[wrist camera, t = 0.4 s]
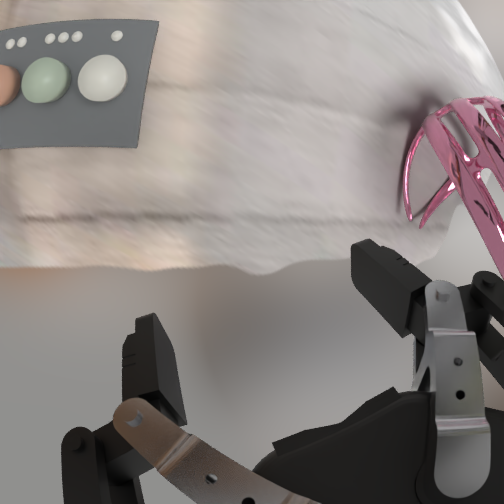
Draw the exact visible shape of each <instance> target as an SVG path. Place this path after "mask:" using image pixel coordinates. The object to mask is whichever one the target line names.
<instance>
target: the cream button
mask: <svg viewBox="0 0 504 504" xmlns="http://www.w3.org/2000/svg"><path fill="white" fill-rule="evenodd" d="M127 81H128V73H127V70H126V68H125V66H124V65H123V64H122V63H121V62H120V61H119V59H117V58H116V57H114V56H111V55H99V56H96V57H93V58H92V59H90V60H89V61H87V62H86V63H85V65H84V66H83V67H82V69H81V71H80V73H79V76H78V87H79V90H80V92H81V94H82V95H83V96H84V97H85V98H87V99H89V100H92V101H110V100H112V99H114V98H116V97H118V96H119V95H120V94H121V93H122V92H123V90H124V89H125V87H126V85H127Z"/></svg>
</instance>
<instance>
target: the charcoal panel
mask: <svg viewBox="0 0 504 504" xmlns="http://www.w3.org/2000/svg"><path fill="white" fill-rule="evenodd" d="M158 27H159V21H152V20H133V19H91V20H72V21H60V22H51V23H42V24H35V25H29V26H22V27H17V28H11V29H6V30H2V31H0V65H6V66H11V67H14V68H16V69H17V70H18V72H19V74H20V81H21V82H20V88H19V91H18V93H17V95H16V97H15V98H14V99H13V100H12V101H11V102H10V103H9V104H7V105H5V106H1V107H0V149H8V148H27V147H121V148H137V146H138V139H139V131H140V123H141V116H142V109H143V103H144V96H145V90H146V84H147V79H148V73H149V68H150V63H151V58H152V53H153V49H154V44H155V40H156V35H157V31H158ZM99 55H111V56H114V57H116V58H117V59H119V61H120V62H121V63H122V64H123V65H124V66H125V68H126V70H127V73H128V81H127V85H126V87H125V89H124V90H123V92H122V93H121V94H120V95H119V96H118V97H116V98H114V99H112V100H110V101H92V100H89V99H87V98H85V97H84V96H83V95H82V94H81V92H80V90H79V87H78V76H79V73H80V71H81V69H82V67H83V66H84V65H85V63H86V62H87V61H89V60H90V59H92V58H93V57H96V56H99ZM44 57H50V58H53V59H56V60H58V61H61V62H63V63H65V64H66V65H67V66H68V68H69V70H70V73H71V81H70V85H69V87H68V89H67V91H66V92H65V94H64V95H63V96H62V97H61V98H59V99H58V100H56V101H53V102H48V103H33V102H30V101H29V100H27V99H26V98H25V96H24V95H23V92H22V87H21V84H22V78H23V75H24V73H25V71H26V70H27V68H28V67H29V66H30V65H31V64H32V63H33V62H34V61H36V60H38V59H40V58H44Z"/></svg>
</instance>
